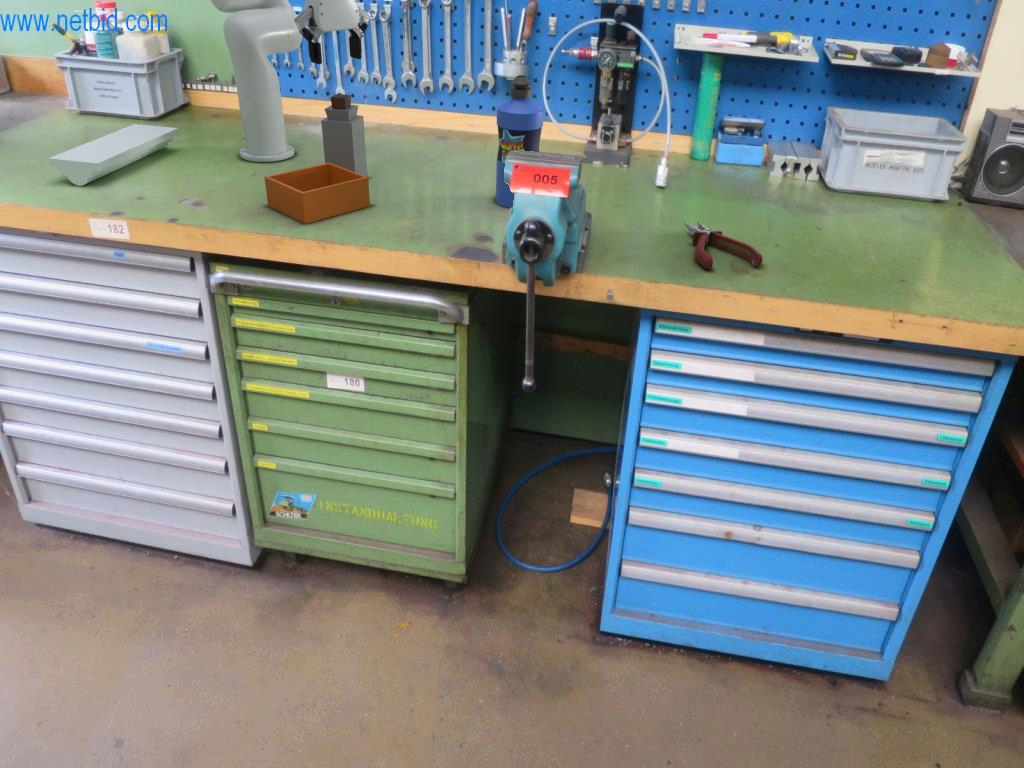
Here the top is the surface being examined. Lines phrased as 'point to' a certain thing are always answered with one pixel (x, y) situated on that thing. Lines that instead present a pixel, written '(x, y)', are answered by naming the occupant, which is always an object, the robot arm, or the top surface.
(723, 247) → the pliers
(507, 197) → the water bottle
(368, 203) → the box
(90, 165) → the shelf
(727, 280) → the top surface
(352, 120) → the perfume bottle
